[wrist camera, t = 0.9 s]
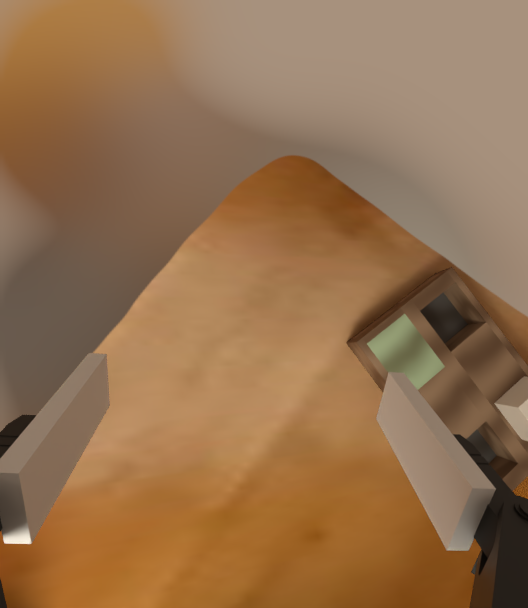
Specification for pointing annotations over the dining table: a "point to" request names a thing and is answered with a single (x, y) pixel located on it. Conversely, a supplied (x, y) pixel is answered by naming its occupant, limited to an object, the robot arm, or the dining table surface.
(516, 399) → the block
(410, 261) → the dining table surface
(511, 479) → the board
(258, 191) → the dining table surface
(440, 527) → the robot arm
